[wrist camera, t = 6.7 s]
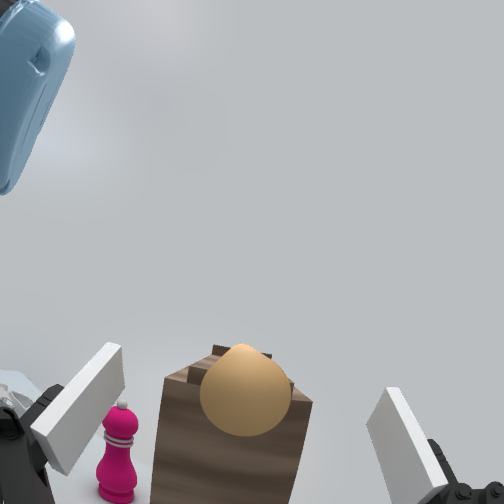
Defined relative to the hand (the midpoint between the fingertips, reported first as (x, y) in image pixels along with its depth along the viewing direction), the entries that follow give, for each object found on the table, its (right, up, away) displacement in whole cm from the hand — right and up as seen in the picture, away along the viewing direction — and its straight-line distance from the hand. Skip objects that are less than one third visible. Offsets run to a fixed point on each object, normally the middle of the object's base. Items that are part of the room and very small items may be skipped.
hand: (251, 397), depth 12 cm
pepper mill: (-23, -35, +19) cm, 46 cm away
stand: (-6, -33, +4) cm, 34 cm away
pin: (-1, -3, +8) cm, 8 cm away
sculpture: (-60, -31, +27) cm, 73 cm away
